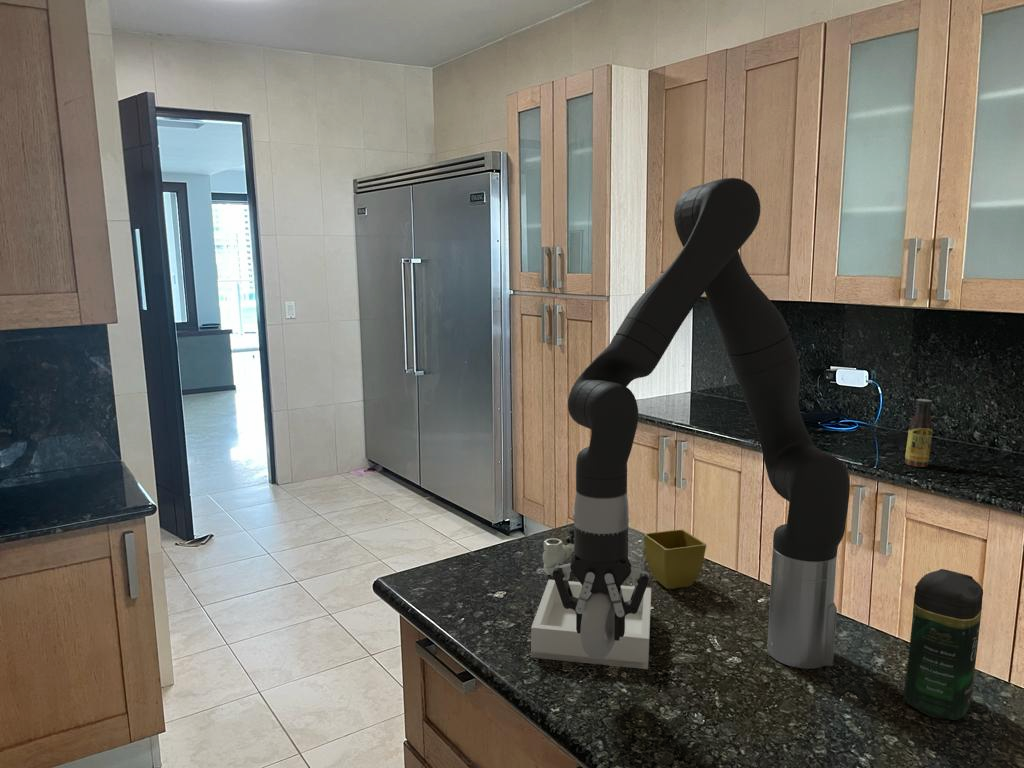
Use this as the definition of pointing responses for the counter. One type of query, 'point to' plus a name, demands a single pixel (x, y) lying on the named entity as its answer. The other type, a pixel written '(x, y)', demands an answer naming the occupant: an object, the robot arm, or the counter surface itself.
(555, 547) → the valve
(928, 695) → the coffee jar
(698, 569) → the flower pot
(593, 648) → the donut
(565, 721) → the counter surface
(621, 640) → the tray
